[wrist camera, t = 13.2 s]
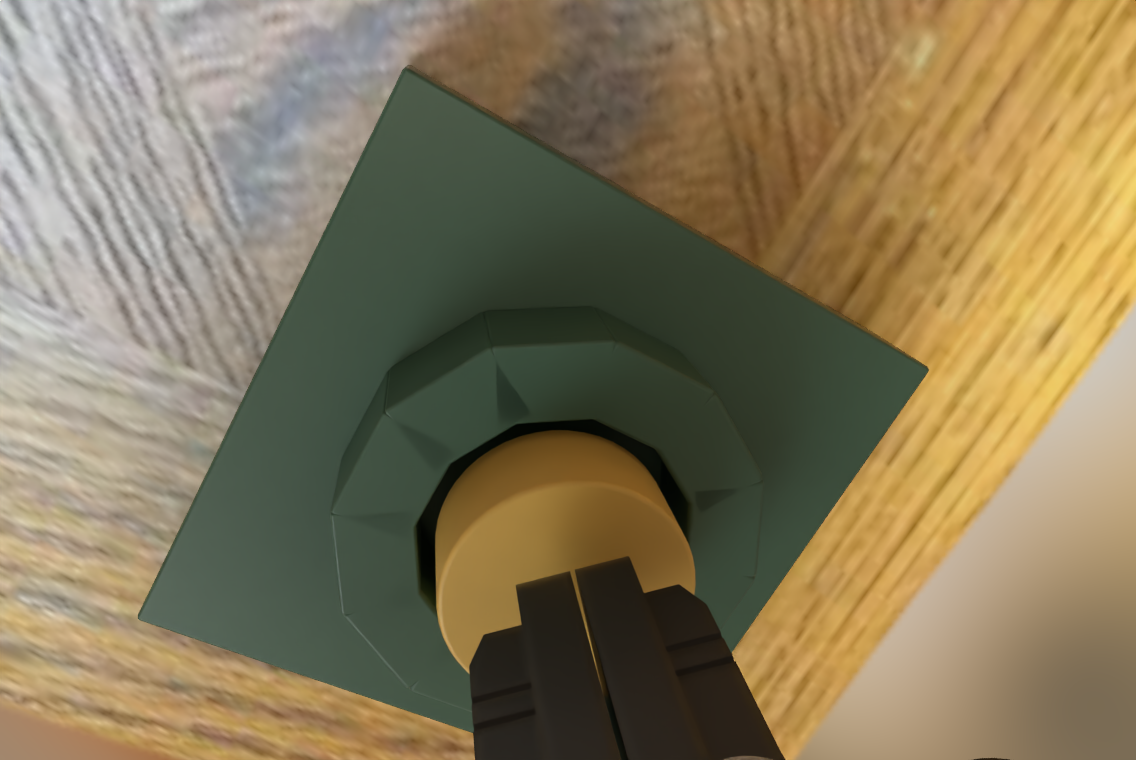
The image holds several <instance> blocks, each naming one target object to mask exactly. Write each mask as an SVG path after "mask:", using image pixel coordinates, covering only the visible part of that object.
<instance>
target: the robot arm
mask: <svg viewBox="0 0 1136 760" xmlns="http://www.w3.org/2000/svg"><path fill="white" fill-rule="evenodd" d="M575 575H576V579H577V584H578V588H579V593H580V597H581V601H582V606H583V610H584V614H585V619H586V623H587V627H588V632H589V636H590V641H591V645H592V649H593V654H594V658H595V662H596V665H595V662H594V658H593V654H592V651H591V647H590V643H589V639H588V636H587V632H586V628H585V625H584V621H583V617H582V614H581V610H580V606H579V602H578V599H577V595H576V591H575V588H574V584H573V580H572V577H571V573H570V571H568V572H564V573H560V574H556V575H552V576H548V577H544V578H540V579H536V580H533V581H529V582H525V583H521V584H517V585H516V592H517V598H518V605H519V611H520V617H521V623H522V625H519V626H515V627H511V628H507V629H503V630H500V631H496V632H492V633H488V634H484V635H483V637H482V639H481V641H480V643H479V646H478V648H477V650H476V652H475V654H474V656H473V659H472V661H471V663H470V665H469V674H470V689H471V699H472V720H473V727H474V731H473V735H474V750H475V760H785V758H784V756H783V755H782V753H781V752H780V750H779V748H778V746H777V744H776V742H775V740H774V738H773V736H772V734H771V732H770V730H769V728H768V726H767V724H766V722H765V720H764V718H763V716H762V714H761V712H760V710H759V708H758V706H757V704H756V702H755V700H754V698H753V696H752V694H751V692H750V690H749V688H748V686H747V684H746V682H745V680H744V678H743V676H742V674H741V672H740V670H739V668H738V666H737V664H736V662H734V660H733V656H732V654H731V652H730V650H729V648H728V646H727V644H726V642H725V640H724V638H722V635H721V632H720V630H719V628H718V626H717V624H716V622H715V620H714V618H713V616H712V614H711V612H710V610H709V608H708V606H707V604H706V603H705V602H703V601H702V600H700V599H699V598H698V597H696V596H695V595H693V594H692V593H691V592H689V591H688V590H686V589H685V588H684V587H682V586H681V585H679V584H677V585H673V586H669V587H665V588H662V589H658V590H654V591H650V592H646V593H644V592H643V590H642V587H641V584H640V582H639V579H638V577H637V574H636V572H635V569H634V567H633V564H632V562H631V559H630V557H629V556H626V557H622V558H618V559H614V560H610V561H606V562H602V563H598V564H595V565H591V566H587V567H583V568H579V569H575ZM596 667H597V669H596ZM597 671H598V673H597ZM598 675H599V676H598ZM599 679H600V680H599ZM600 683H601V684H600ZM601 687H602V688H601ZM974 760H1008V759H997V758H982V759H974Z"/></svg>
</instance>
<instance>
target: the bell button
mask: <svg viewBox="0 0 1136 760" xmlns="http://www.w3.org/2000/svg"><path fill="white" fill-rule="evenodd" d="M626 556H629V557H630V559H631V562H632V564H633V567H634V569H635V572H636V574H637V577H638V579H639V582H640V584H641V587H642V590H643V592H644V593H646V592H650V591H654V590H658V589H662V588H665V587H669V586H673V585H677V584H679V585H681V586H682V587H684V588H685V589H686V590H688V591H689V592H691V593H692V594H693V595H694V593H695V585H696V584H695V566H694V561H693V556H692V553H691V550H690V547H689V544H688V542H687V540H686V538H685V536H684V534H683V532H682V530H681V528H680V526H679V525H678V523H677V521H676V519H675V517H674V515H673V513H672V511H671V509H670V508H669V506H668V504H667V502H666V500H665V498H664V496H663V494H662V492H661V491H660V489H659V487H658V485H657V483H656V481H655V479H654V478H653V476H652V475H651V473H650V472H649V471H648V469H647V468H646V467H645V466H644V465H643V464H642V463H641V462H640V461H639V460H638V459H637V458H636V457H635V456H634V455H633V454H631V453H630V452H629V451H627V450H626V449H625V448H623V447H621V446H619V445H618V444H616V443H614V442H612V441H610V440H607V439H605V438H602V437H600V436H596V435H592V434H588V433H584V432H577V431H569V430H550V431H542V432H535V433H531V434H527V435H523V436H520V437H517V438H514V439H512V440H509V441H506V442H504V443H502V444H501V445H499V446H497V447H495V448H493V449H491V450H490V451H488V452H487V453H485V454H484V455H483V456H481V457H480V458H478V459H477V460H476V461H475V462H474V463H473V464H471V465H470V466H469V467H468V468H467V469H466V470H465V471H464V472H463V474H462V475H461V476H460V477H459V478H458V479H457V480H456V482H455V483H454V485H453V486H452V488H451V490H450V491H449V493H448V495H447V497H446V499H445V501H444V503H443V505H442V508H441V511H440V514H439V517H438V521H437V527H436V533H435V558H436V609H437V616H438V623H439V626H440V629H441V632H442V636H443V638H444V640H445V642H446V644H447V646H448V648H449V650H450V652H451V653H452V654H453V656H454V657H455V659H456V660H457V662H458V663H459V664H460V665H461V666H462V667H463V668H464V669H465V670H466V671H467V672H468V673H469V665H470V663H471V661H472V659H473V656H474V654H475V652H476V650H477V648H478V646H479V643H480V641H481V639H482V637H483V635H484V634H488V633H492V632H496V631H500V630H503V629H507V628H511V627H515V626H519V625H522V623H521V617H520V611H519V605H518V598H517V592H516V585H517V584H521V583H525V582H529V581H533V580H536V579H540V578H544V577H548V576H552V575H556V574H560V573H564V572H568V571H570V573H571V577H572V580H573V584H574V588H575V591H576V595H577V599H578V602H579V606H580V610H581V614H582V617H583V621H584V625H585V628H586V632H587V636H588V639H589V643H590V647H591V651H592V654H593V649H592V645H591V641H590V636H589V632H588V627H587V623H586V619H585V614H584V610H583V606H582V601H581V597H580V593H579V588H578V584H577V579H576V575H575V569H579V568H583V567H587V566H591V565H595V564H598V563H602V562H606V561H610V560H614V559H618V558H622V557H626ZM593 658H594V654H593ZM594 662H595V658H594ZM595 665H596V662H595ZM596 669H597V667H596ZM597 673H598V671H597ZM598 676H599V675H598ZM599 680H600V679H599ZM600 684H601V683H600ZM601 688H602V687H601Z"/></svg>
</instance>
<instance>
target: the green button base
mask: <svg viewBox="0 0 1136 760" xmlns="http://www.w3.org/2000/svg"><path fill="white" fill-rule="evenodd" d="M928 371H929V369H928V367H927V366H925V365H924V364H922V363H921V362H919V361H917V360H916V359H914V358H913V357H911V356H910V355H908V354H906V353H905V352H903V351H902V350H900V349H899V348H897V347H895V346H894V345H892V344H891V343H889V342H888V341H886V340H884V339H883V338H881V337H880V336H878V335H877V334H875V333H873V332H872V331H870V330H868V329H867V328H865V327H863V326H861V325H860V324H858V323H856V322H855V321H853V320H851V319H849V318H848V317H846V316H844V315H842V314H841V313H839V312H837V311H835V310H834V309H832V308H830V307H829V306H827V305H825V304H823V303H822V302H820V301H818V300H816V299H815V298H813V297H811V296H809V295H808V294H806V293H804V292H803V291H801V290H799V289H797V288H796V287H794V286H792V285H790V284H789V283H787V282H785V281H783V280H782V279H780V278H778V277H777V276H775V275H773V274H771V273H770V272H768V271H766V270H764V269H763V268H761V267H759V266H758V265H756V264H754V263H752V262H751V261H749V260H747V259H745V258H744V257H742V256H740V255H738V254H737V253H735V252H733V251H732V250H730V249H728V248H726V247H725V246H723V245H721V244H719V243H718V242H716V241H714V240H712V239H711V238H709V237H707V236H706V235H704V234H702V233H700V232H699V231H697V230H695V229H693V228H692V227H690V226H688V225H687V224H685V223H683V222H681V221H680V220H678V219H676V218H674V217H673V216H671V215H669V214H667V213H666V212H664V211H662V210H661V209H659V208H657V207H655V206H654V205H652V204H650V203H648V202H647V201H645V200H643V199H641V198H640V197H638V196H636V195H635V194H633V193H631V192H629V191H628V190H626V189H624V188H622V187H621V186H619V185H617V184H615V183H614V182H612V181H610V180H609V179H607V178H605V177H603V176H602V175H600V174H598V173H596V172H595V171H593V170H591V169H590V168H588V167H586V166H584V165H583V164H581V163H579V162H577V161H576V160H574V159H572V158H570V157H569V156H567V155H565V154H564V153H562V152H560V151H558V150H557V149H555V148H553V147H551V146H550V145H548V144H546V143H544V142H543V141H541V140H539V139H538V138H536V137H534V136H532V135H531V134H529V133H527V132H525V131H524V130H522V129H520V128H519V127H517V126H515V125H513V124H512V123H510V122H508V121H506V120H505V119H503V118H501V117H499V116H498V115H496V114H494V113H493V112H491V111H489V110H487V109H486V108H484V107H482V106H480V105H479V104H477V103H475V102H473V101H472V100H470V99H468V98H467V97H465V96H463V95H461V94H460V93H458V92H456V91H454V90H453V89H451V88H449V87H447V86H446V85H444V84H442V83H441V82H439V81H437V80H435V79H434V78H432V77H430V76H428V75H427V74H425V73H423V72H422V71H420V70H418V69H416V68H415V67H413V66H411V65H408V66H407V67H405V68H404V69H403V70H402V72H401V75H400V77H399V79H398V81H397V83H396V85H395V87H394V89H393V91H392V93H391V95H390V97H389V99H388V101H387V103H386V105H385V107H384V109H383V112H382V114H381V116H380V118H379V120H378V122H377V124H376V126H375V128H374V130H373V132H372V134H371V136H370V138H369V140H368V142H367V144H366V147H365V149H364V151H363V153H362V155H361V157H360V159H359V161H358V163H357V165H356V167H355V169H354V171H353V173H352V175H351V177H350V179H349V182H348V184H347V186H346V188H345V190H344V192H343V194H342V196H341V198H340V200H339V202H338V204H337V206H336V208H335V210H334V212H333V214H332V217H331V219H330V221H329V223H328V225H327V227H326V229H325V231H324V233H323V235H322V237H321V239H320V241H319V243H318V245H317V247H316V249H315V252H314V254H313V256H312V258H311V260H310V262H309V264H308V266H307V268H306V270H305V272H304V274H303V276H302V278H301V280H300V282H299V284H298V286H297V289H296V291H295V293H294V295H293V297H292V299H291V301H290V303H289V305H288V307H287V309H286V311H285V313H284V315H283V317H282V319H281V321H280V324H279V326H278V328H277V330H276V332H275V334H274V336H273V338H272V340H271V342H270V344H269V346H268V348H267V350H266V352H265V354H264V356H263V359H262V361H261V363H260V365H259V367H258V369H257V371H256V373H255V375H254V377H253V379H252V381H251V383H250V385H249V387H248V389H247V391H246V394H245V396H244V398H243V400H242V402H241V404H240V406H239V408H238V410H237V412H236V414H235V416H234V418H233V420H232V422H231V424H230V426H229V429H228V431H227V433H226V435H225V437H224V439H223V441H222V443H221V445H220V447H219V449H218V451H217V453H216V455H215V457H214V459H213V461H212V463H211V466H210V468H209V470H208V472H207V474H206V476H205V478H204V480H203V482H202V484H201V486H200V488H199V490H198V492H197V494H196V496H195V498H194V501H193V503H192V505H191V507H190V509H189V511H188V513H187V515H186V517H185V519H184V521H183V523H182V525H181V527H180V529H179V531H178V533H177V536H176V538H175V540H174V542H173V544H172V546H171V548H170V550H169V552H168V554H167V556H166V558H165V560H164V562H163V564H162V566H161V568H160V571H159V573H158V575H157V577H156V579H155V581H154V583H153V585H152V587H151V589H150V591H149V593H148V595H147V597H146V599H145V601H144V603H143V606H142V608H141V610H140V612H139V614H138V619H139V620H141V621H144V622H147V623H150V624H153V625H156V626H159V627H162V628H165V629H168V630H171V631H173V632H176V633H179V634H182V635H185V636H188V637H191V638H194V639H197V640H200V641H203V642H206V643H209V644H212V645H215V646H218V647H221V648H224V649H227V650H230V651H233V652H235V653H238V654H241V655H244V656H247V657H250V658H253V659H256V660H259V661H262V662H265V663H268V664H271V665H274V666H277V667H280V668H283V669H286V670H289V671H292V672H295V673H297V674H300V675H303V676H306V677H309V678H312V679H315V680H318V681H321V682H324V683H327V684H330V685H333V686H336V687H339V688H342V689H345V690H348V691H351V692H354V693H356V694H359V695H362V696H365V697H368V698H371V699H374V700H377V701H380V702H383V703H386V704H389V705H392V706H395V707H398V708H401V709H404V710H407V711H410V712H413V713H416V714H418V715H421V716H424V717H427V718H430V719H433V720H436V721H439V722H442V723H445V724H448V725H451V726H454V727H457V728H460V729H463V730H466V731H469V732H472V733H473V731H474V727H473V720H472V699H471V689H470V674H469V673H468V672H467V671H466V670H465V669H464V668H463V667H462V666H461V665H460V664H459V663H458V662H457V660H456V659H455V657H454V656H453V654H452V653H451V652H450V650H449V648H448V646H447V644H446V642H445V640H444V638H443V636H442V632H441V629H440V626H439V623H438V616H437V609H436V558H435V533H436V527H437V521H438V517H439V514H440V511H441V508H442V505H443V503H444V501H445V499H446V497H447V495H448V493H449V491H450V490H451V488H452V486H453V485H454V483H455V482H456V480H457V479H458V478H459V477H460V476H461V475H462V474H463V472H464V471H465V470H466V469H467V468H468V467H469V466H470V465H471V464H473V463H474V462H475V461H476V460H477V459H478V458H480V457H481V456H483V455H484V454H485V453H487V452H488V451H490V450H491V449H493V448H495V447H497V446H499V445H501V444H502V443H504V442H506V441H509V440H512V439H514V438H517V437H520V436H523V435H527V434H531V433H535V432H542V431H550V430H569V431H577V432H584V433H588V434H592V435H596V436H600V437H602V438H605V439H607V440H610V441H612V442H614V443H616V444H618V445H619V446H621V447H623V448H625V449H626V450H627V451H629V452H630V453H631V454H633V455H634V456H635V457H636V458H637V459H638V460H639V461H640V462H641V463H642V464H643V465H644V466H645V467H646V468H647V469H648V471H649V472H650V473H651V475H652V476H653V478H654V479H655V481H656V483H657V485H658V487H659V489H660V491H661V492H662V494H663V496H664V498H665V500H666V502H667V504H668V506H669V508H670V509H671V511H672V513H673V515H674V517H675V519H676V521H677V523H678V525H679V526H680V528H681V530H682V532H683V534H684V536H685V538H686V540H687V542H688V544H689V547H690V550H691V553H692V556H693V561H694V566H695V584H696V585H695V593H694V595H695V596H696V597H698V598H699V599H700V600H702V601H703V602H705V603H706V604H707V606H708V608H709V610H710V612H711V614H712V616H713V618H714V620H715V622H716V624H717V626H718V628H719V630H720V632H721V635H722V638H724V640H725V642H726V644H727V646H728V648H729V650H730V652H731V653H732V651H733V650H734V648H735V647H736V646H737V644H738V643H739V641H740V640H741V638H742V637H743V636H744V634H745V633H746V631H747V630H748V628H749V627H750V626H751V624H752V623H753V621H754V620H755V618H756V617H757V616H758V614H759V613H760V611H761V610H762V608H763V607H764V606H765V604H766V603H767V601H768V600H769V598H770V597H771V596H772V594H773V593H774V591H775V590H776V588H777V587H778V586H779V584H780V583H781V581H782V580H783V578H784V577H785V576H786V574H787V573H788V571H789V570H790V568H791V567H792V566H793V564H794V563H795V561H796V560H797V558H798V557H799V556H800V554H801V553H802V551H803V550H804V548H805V547H806V546H807V544H808V543H809V541H810V540H811V538H812V537H813V536H814V534H815V533H816V531H817V530H818V528H819V527H820V526H821V524H822V523H823V521H824V520H825V518H826V517H827V516H828V514H829V513H830V511H831V510H832V508H833V507H834V506H835V504H836V503H837V501H838V500H839V498H840V497H841V496H842V494H843V493H844V491H845V490H846V488H847V487H848V486H849V484H850V483H851V481H852V480H853V478H854V477H855V476H856V474H857V473H858V471H859V470H860V468H861V467H862V466H863V464H864V463H865V461H866V460H867V458H868V457H869V456H870V454H871V453H872V451H873V450H874V448H875V447H876V446H877V444H878V443H879V441H880V440H881V438H882V437H883V436H884V434H885V433H886V431H887V430H888V428H889V427H890V426H891V424H892V423H893V421H894V420H895V418H896V417H897V416H898V414H899V413H900V411H901V410H902V408H903V407H904V406H905V404H906V403H907V401H908V400H909V398H910V397H911V396H912V394H913V393H914V391H915V390H916V388H917V387H918V386H919V384H920V383H921V381H922V380H923V378H924V377H925V376H926V374H927V373H928Z"/></svg>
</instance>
